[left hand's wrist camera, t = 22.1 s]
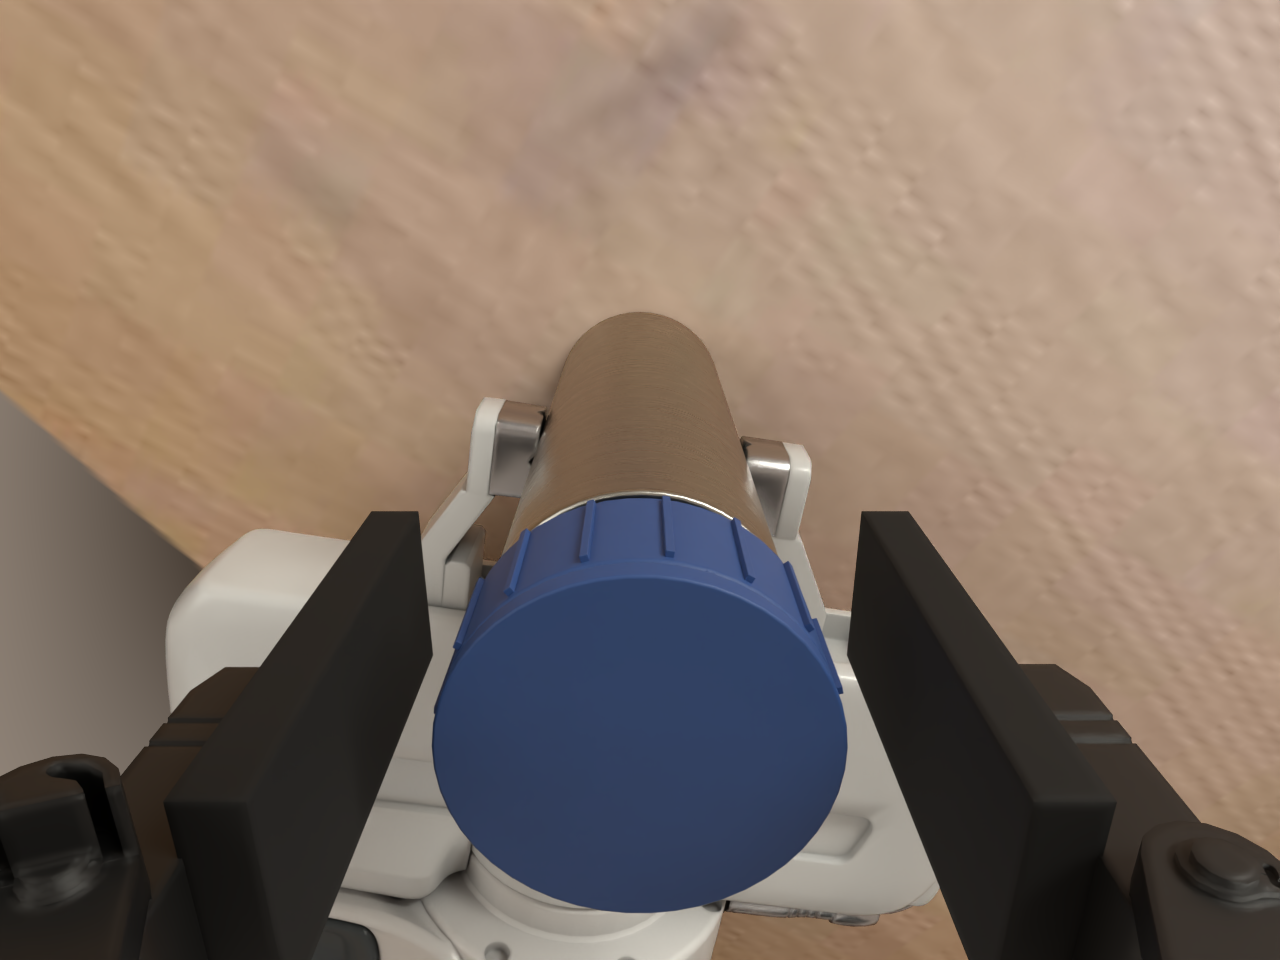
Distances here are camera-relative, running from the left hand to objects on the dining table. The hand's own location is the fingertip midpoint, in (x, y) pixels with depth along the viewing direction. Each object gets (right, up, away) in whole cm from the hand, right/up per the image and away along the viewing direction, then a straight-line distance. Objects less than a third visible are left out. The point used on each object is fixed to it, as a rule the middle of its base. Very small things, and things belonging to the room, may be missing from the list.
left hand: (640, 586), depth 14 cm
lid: (0, -1, -4) cm, 4 cm away
